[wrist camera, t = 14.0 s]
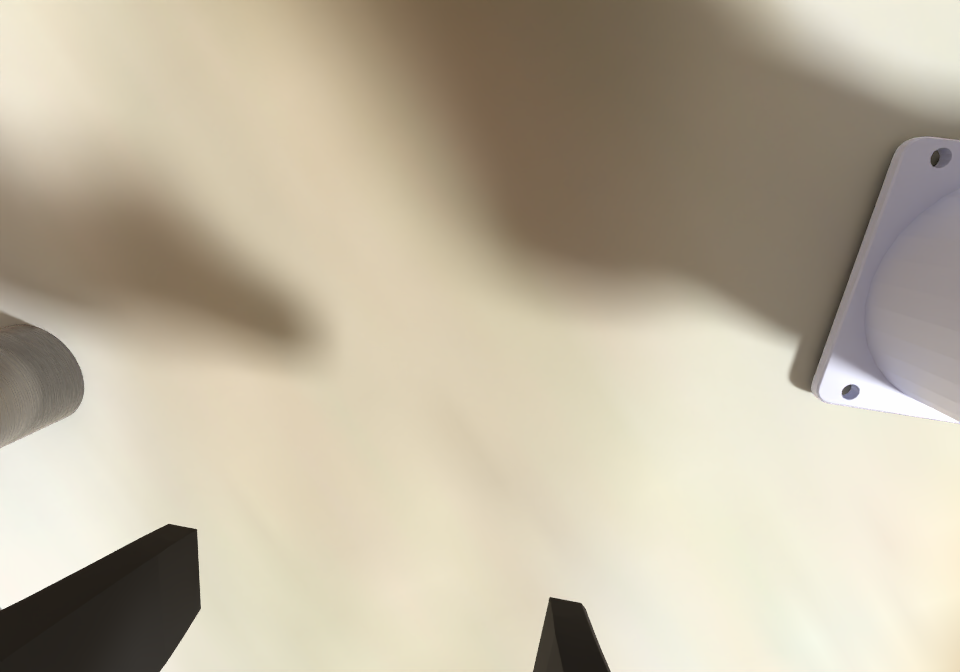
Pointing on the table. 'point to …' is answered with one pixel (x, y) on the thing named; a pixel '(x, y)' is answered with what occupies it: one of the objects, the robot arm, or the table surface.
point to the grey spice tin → (35, 381)
